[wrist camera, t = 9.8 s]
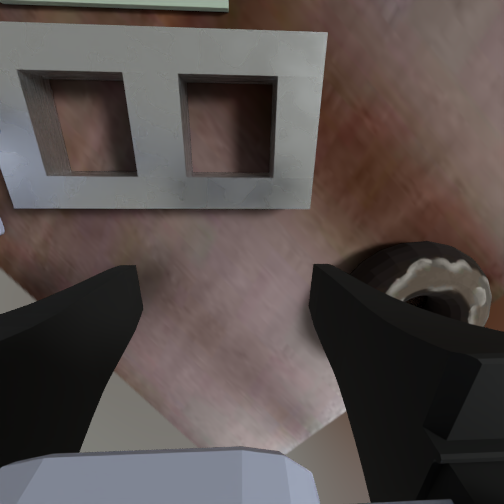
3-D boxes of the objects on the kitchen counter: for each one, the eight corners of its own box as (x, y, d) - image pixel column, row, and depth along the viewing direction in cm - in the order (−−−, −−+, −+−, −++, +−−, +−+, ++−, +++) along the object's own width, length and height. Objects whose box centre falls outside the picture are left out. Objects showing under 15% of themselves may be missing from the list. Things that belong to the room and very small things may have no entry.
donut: (417, 203, 20) (457, 218, 16) (486, 295, 24) (532, 324, 20) (300, 299, 23) (312, 331, 19) (378, 368, 27) (400, 405, 23)
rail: (42, 199, 18) (14, 208, 16) (-6, 37, 15) (-51, 19, 13) (301, 200, 19) (309, 208, 17) (314, 47, 16) (327, 32, 13)
